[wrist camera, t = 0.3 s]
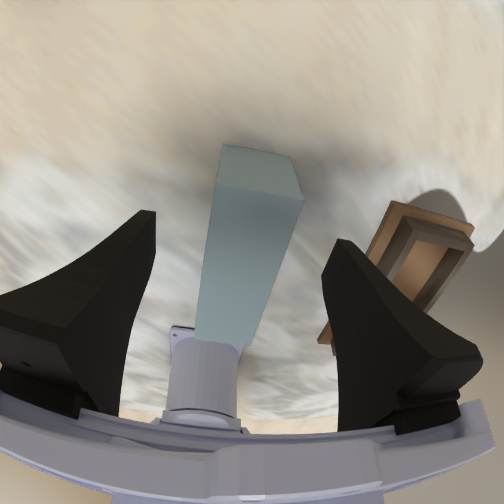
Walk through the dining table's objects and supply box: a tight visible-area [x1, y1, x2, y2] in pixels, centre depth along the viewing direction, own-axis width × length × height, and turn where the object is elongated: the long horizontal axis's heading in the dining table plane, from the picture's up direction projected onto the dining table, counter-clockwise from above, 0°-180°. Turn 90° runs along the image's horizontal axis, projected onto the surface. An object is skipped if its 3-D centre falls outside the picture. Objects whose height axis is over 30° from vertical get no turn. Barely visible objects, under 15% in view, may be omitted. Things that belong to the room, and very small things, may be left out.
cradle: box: [317, 201, 475, 356], centre depth 27 cm, size 18×10×3 cm, turn 169°
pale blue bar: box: [194, 144, 304, 346], centre depth 21 cm, size 13×4×6 cm, turn 168°
